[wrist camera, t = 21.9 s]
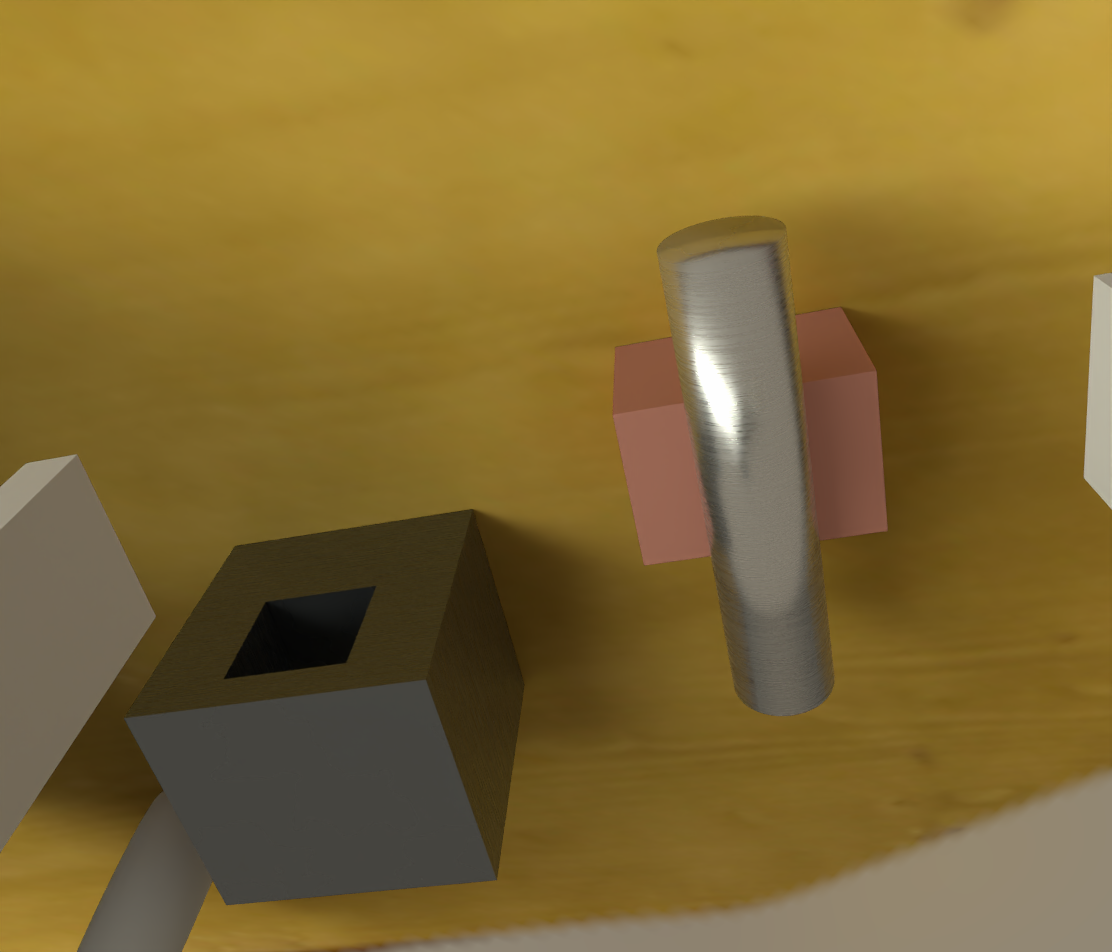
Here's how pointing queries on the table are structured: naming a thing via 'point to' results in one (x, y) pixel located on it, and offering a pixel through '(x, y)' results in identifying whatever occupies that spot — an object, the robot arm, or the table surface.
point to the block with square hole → (341, 714)
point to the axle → (752, 454)
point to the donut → (151, 889)
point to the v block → (833, 429)
